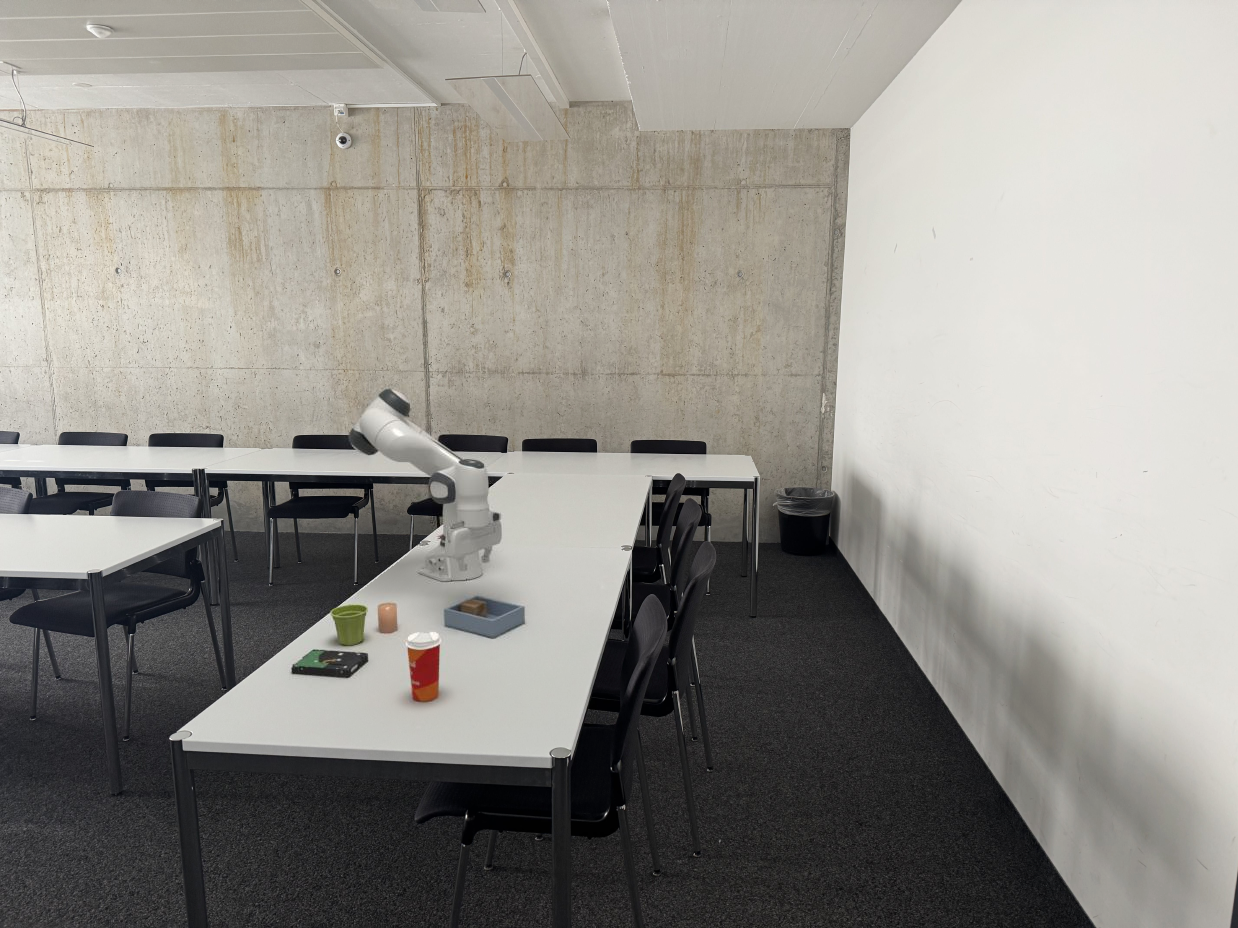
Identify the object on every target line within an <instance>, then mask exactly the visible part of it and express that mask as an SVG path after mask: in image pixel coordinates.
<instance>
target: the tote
mask: <svg viewBox="0 0 1238 928" xmlns="http://www.w3.org/2000/svg"><path fill="white" fill-rule="evenodd" d="M472 599H474V600H479V601H483V602H486V609H487V618H484V617H480V616H476V615H471V614H467V613H463V612H461V604H462V603H465V602H467V601H470V600H472ZM525 609H526V608H525V605H520V604H516V603H512V602H507V601H504V600H503V601H502V600H498V599H495V598H494V599H493V598H488V597H484V596H481V595H480V596H479V595H476V596H473V597H470V598H468V599H465V600H463V601H461V602H458V603H456V604H453V605H451V606H449V607H446V608H444V609H443V617H444V618H443V619H444V620H443V621H444V624H443V625H444V627H446V628H449V629H454V630H458V631H461V632H465V633H470V634H473V635H477V636H481V637H485V638H488V639H491V640H494V639H496V638H498V637H501V636H502V635H504V634H506V633H508V632H510V631H512V630H514V629H517V628H519V627H520V626H523V625H524V623H526V619H525V618H526V615H525V613H526V610H525ZM522 624H523V625H522Z"/></svg>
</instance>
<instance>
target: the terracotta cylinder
mask: <svg viewBox="0 0 1238 928" xmlns="http://www.w3.org/2000/svg"><path fill="white" fill-rule="evenodd" d="M397 608H398V605H397V603H394V602H384V603H380V604H378V605H377V623H378V625H377V626H378V633H379V634H384V635H385V634H394V633H395V632H397V631H398V629H399V628H398V609H397Z"/></svg>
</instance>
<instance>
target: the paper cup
mask: <svg viewBox="0 0 1238 928" xmlns="http://www.w3.org/2000/svg"><path fill="white" fill-rule="evenodd" d="M441 643H442V639H441V637H440V635H439V633H437V632H435V631H430V632H429V631H423V632H421V631H418V632H414V633H412V634H410V635H409V636H408V637H407V641H406V642H405V646H406V648H407V658H408V667H409V676H410V677H409V678H410V685H411V695H412V699H413V701H415V702H420V703H425V702H426V703H427V702H432V701H434V700H436V699H437V698H438V697H439V688H440V687H439V685H440V684H439V683H440V656H441V655H440V653H441V652H440V650H441Z"/></svg>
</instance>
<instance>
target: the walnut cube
mask: <svg viewBox="0 0 1238 928" xmlns="http://www.w3.org/2000/svg"><path fill="white" fill-rule="evenodd" d="M461 612H463V613H467V614H471V615H476V616H480V617H484V618H487V609H486V602H483V601H479V600H474V599H472V600H470V601H467V602H465V603H462V604H461Z"/></svg>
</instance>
